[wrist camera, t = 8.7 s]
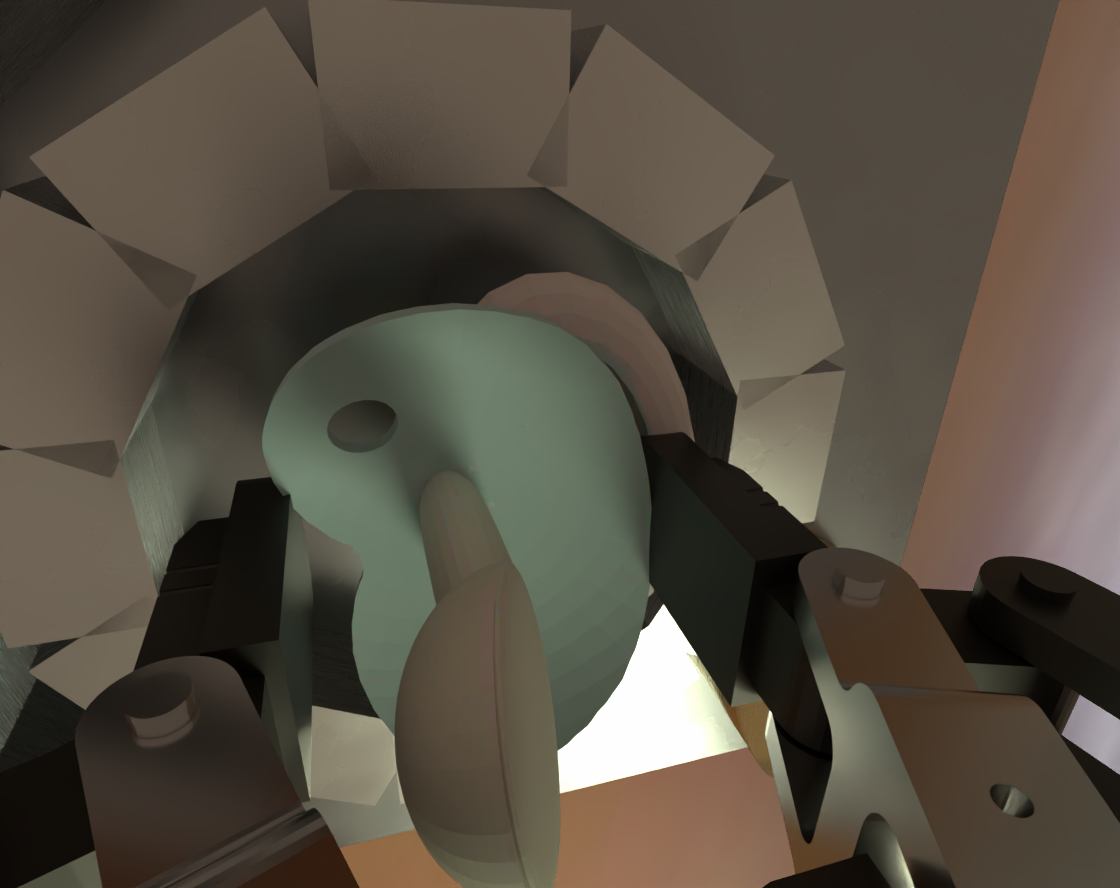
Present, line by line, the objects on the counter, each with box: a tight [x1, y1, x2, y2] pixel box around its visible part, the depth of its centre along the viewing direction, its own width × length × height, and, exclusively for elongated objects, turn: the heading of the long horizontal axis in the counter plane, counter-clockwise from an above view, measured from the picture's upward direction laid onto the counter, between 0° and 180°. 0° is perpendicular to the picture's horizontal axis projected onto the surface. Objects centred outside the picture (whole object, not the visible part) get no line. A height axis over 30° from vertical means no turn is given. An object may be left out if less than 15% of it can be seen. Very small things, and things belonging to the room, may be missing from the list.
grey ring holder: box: [0, 0, 1059, 848], centre depth 12 cm, size 20×18×6 cm
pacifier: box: [262, 272, 695, 888], centre depth 9 cm, size 7×6×6 cm
